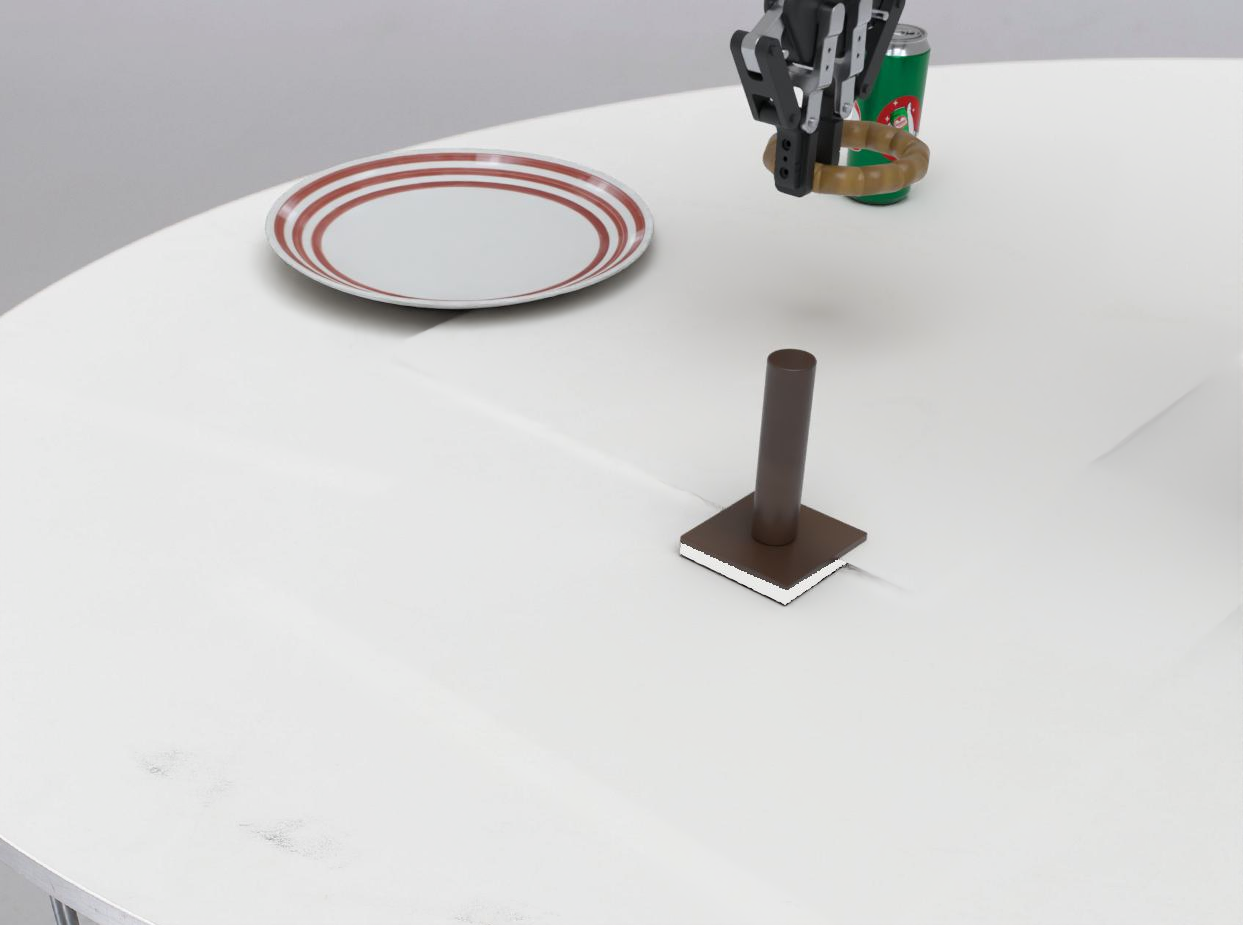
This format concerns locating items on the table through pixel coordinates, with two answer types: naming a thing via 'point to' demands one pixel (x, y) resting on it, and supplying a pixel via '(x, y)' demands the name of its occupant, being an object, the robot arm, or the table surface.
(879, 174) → the ring
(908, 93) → the soda can
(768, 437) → the stand
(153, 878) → the table surface
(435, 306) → the dinner plate
